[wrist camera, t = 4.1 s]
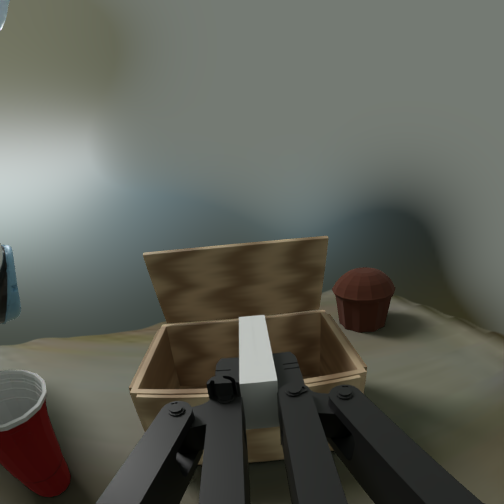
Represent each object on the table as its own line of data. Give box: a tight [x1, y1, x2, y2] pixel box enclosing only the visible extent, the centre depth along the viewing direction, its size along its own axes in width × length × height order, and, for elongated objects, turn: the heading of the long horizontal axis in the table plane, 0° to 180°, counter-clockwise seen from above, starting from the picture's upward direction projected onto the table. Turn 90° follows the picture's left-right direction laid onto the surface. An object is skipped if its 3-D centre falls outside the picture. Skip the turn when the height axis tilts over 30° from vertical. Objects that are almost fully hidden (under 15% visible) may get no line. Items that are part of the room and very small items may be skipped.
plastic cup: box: [0, 370, 71, 497], centre depth 18 cm, size 11×11×12 cm
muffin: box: [332, 268, 395, 332], centre depth 52 cm, size 12×11×10 cm
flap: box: [143, 236, 328, 323], centre depth 33 cm, size 19×1×10 cm, turn 93°
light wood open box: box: [129, 310, 367, 465], centre depth 30 cm, size 21×14×10 cm
